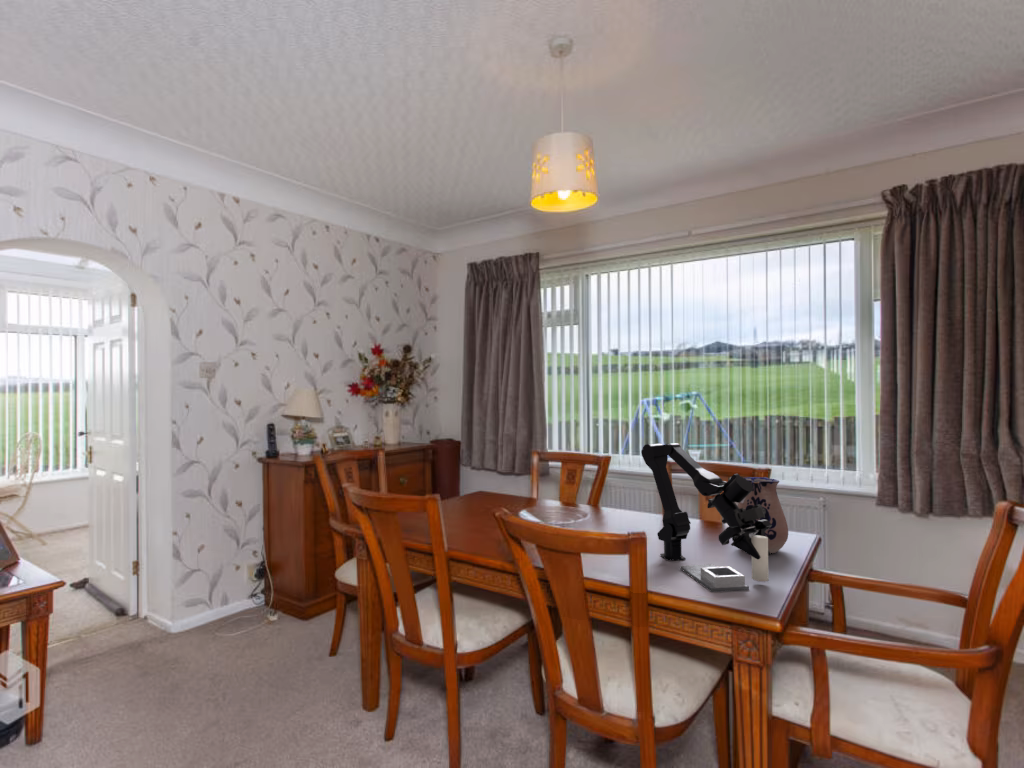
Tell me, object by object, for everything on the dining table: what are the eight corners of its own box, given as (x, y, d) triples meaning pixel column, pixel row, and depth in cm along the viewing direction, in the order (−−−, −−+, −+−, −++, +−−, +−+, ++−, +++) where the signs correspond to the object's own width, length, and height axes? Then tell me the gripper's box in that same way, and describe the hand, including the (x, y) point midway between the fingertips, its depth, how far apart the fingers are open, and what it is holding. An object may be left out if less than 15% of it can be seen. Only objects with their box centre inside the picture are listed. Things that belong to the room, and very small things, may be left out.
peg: (748, 576, 160) (748, 535, 161) (762, 576, 161) (762, 535, 161) (757, 582, 156) (756, 539, 156) (771, 581, 157) (771, 538, 157)
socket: (680, 569, 173) (680, 556, 173) (713, 567, 175) (713, 554, 175) (711, 592, 153) (711, 577, 153) (748, 590, 154) (748, 575, 154)
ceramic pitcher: (731, 554, 189) (730, 481, 190) (737, 539, 208) (736, 473, 209) (788, 560, 181) (786, 484, 182) (789, 545, 200) (788, 476, 200)
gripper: (726, 499, 157) (762, 546, 148) (765, 492, 167) (801, 536, 158) (704, 521, 164) (737, 568, 154) (742, 513, 174) (776, 557, 164)
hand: (764, 557), depth 157 cm, fingers closed on peg, 4 cm apart
